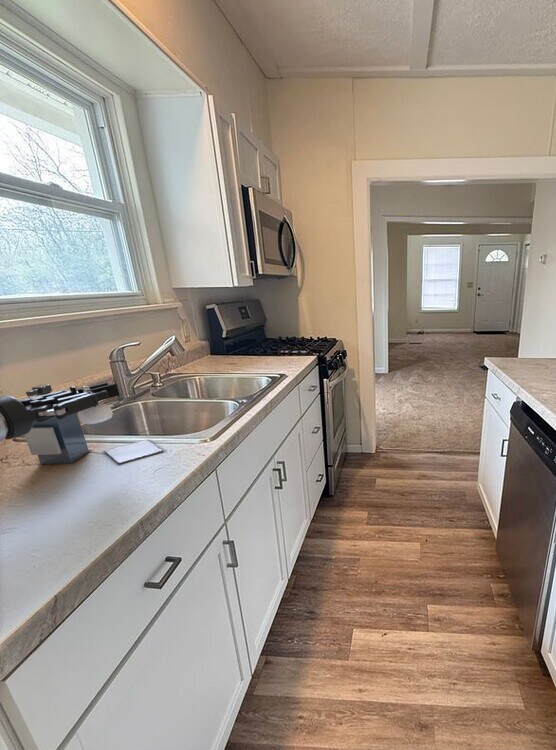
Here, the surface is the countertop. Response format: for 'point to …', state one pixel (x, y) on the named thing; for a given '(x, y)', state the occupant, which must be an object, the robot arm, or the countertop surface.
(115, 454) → the flat dark-edged slab
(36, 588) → the countertop surface
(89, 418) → the garlic bulb
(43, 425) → the soap dispenser
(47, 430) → the dispenser paddle
